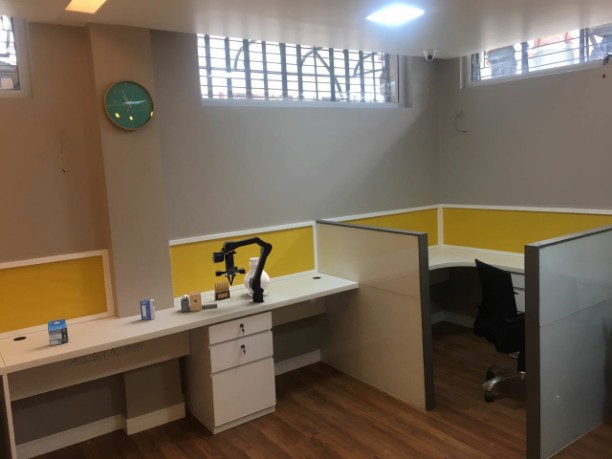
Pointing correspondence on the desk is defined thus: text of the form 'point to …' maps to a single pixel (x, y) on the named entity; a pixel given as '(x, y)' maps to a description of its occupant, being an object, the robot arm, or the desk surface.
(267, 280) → the decorative vase
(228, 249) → the robot arm
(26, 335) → the desk surface
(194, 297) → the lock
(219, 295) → the ammunition clip
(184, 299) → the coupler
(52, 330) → the label tape cartridge
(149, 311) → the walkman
